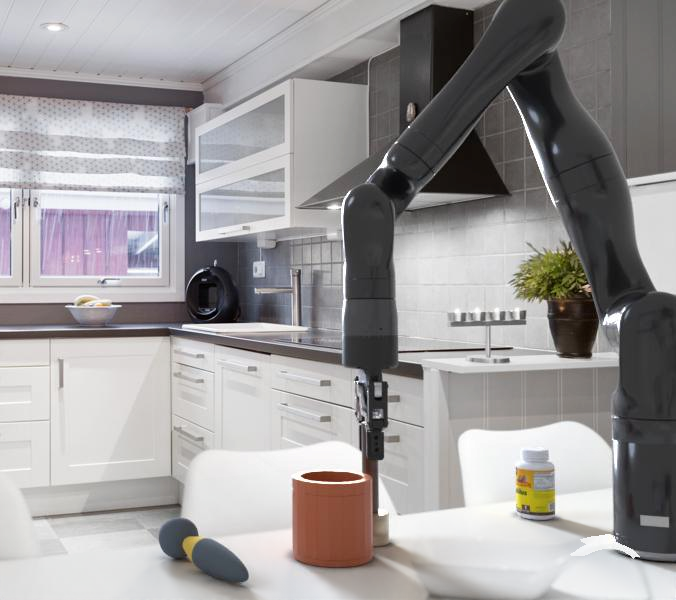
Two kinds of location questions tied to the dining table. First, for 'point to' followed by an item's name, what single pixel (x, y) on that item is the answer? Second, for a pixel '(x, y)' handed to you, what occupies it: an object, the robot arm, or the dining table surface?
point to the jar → (332, 518)
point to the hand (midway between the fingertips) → (371, 455)
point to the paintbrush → (200, 550)
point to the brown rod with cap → (375, 497)
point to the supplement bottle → (535, 484)
